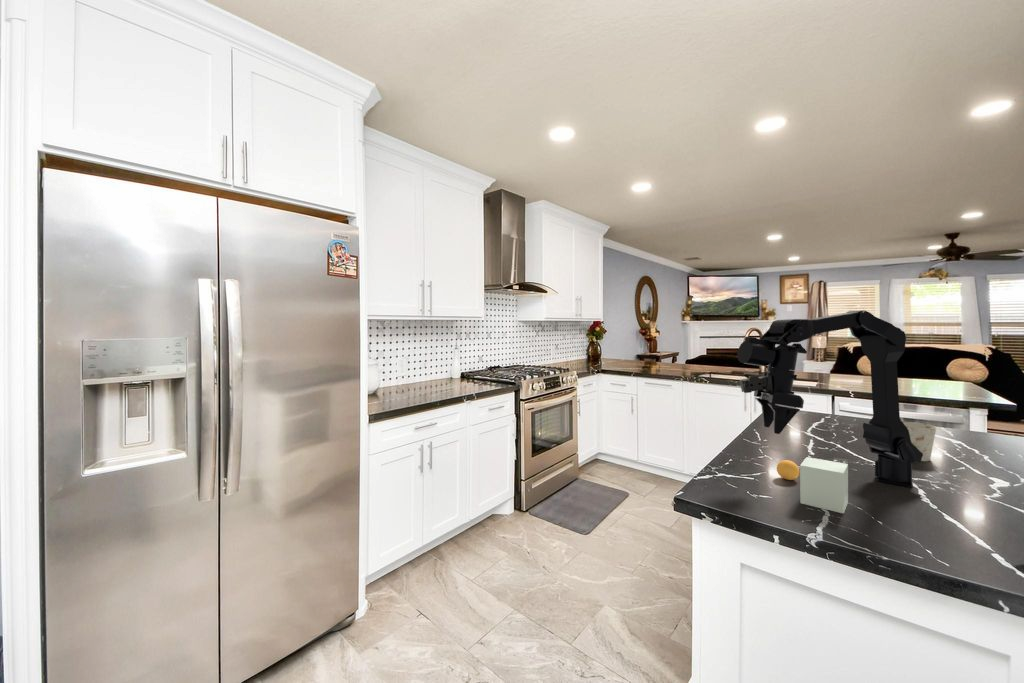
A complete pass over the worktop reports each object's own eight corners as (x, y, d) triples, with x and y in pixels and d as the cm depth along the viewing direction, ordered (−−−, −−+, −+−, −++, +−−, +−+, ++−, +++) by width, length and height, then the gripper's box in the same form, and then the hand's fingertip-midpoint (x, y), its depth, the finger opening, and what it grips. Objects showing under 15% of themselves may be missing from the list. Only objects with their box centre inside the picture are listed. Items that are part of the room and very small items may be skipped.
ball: (801, 478, 106) (801, 460, 105) (797, 484, 102) (797, 465, 102) (779, 474, 109) (779, 456, 109) (774, 479, 106) (774, 460, 105)
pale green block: (848, 502, 91) (847, 464, 91) (843, 513, 86) (843, 473, 86) (806, 492, 97) (806, 457, 97) (800, 503, 92) (800, 465, 91)
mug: (944, 463, 114) (944, 428, 114) (892, 461, 117) (892, 427, 116) (920, 454, 122) (920, 422, 122) (873, 452, 125) (873, 421, 125)
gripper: (737, 363, 112) (729, 418, 112) (753, 364, 94) (743, 430, 94) (783, 369, 108) (774, 426, 108) (809, 372, 90) (798, 440, 91)
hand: (771, 430), depth 100 cm, fingers open, 9 cm apart
